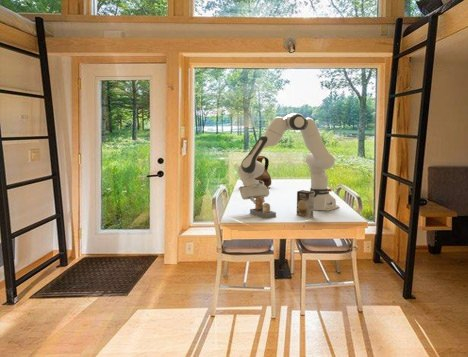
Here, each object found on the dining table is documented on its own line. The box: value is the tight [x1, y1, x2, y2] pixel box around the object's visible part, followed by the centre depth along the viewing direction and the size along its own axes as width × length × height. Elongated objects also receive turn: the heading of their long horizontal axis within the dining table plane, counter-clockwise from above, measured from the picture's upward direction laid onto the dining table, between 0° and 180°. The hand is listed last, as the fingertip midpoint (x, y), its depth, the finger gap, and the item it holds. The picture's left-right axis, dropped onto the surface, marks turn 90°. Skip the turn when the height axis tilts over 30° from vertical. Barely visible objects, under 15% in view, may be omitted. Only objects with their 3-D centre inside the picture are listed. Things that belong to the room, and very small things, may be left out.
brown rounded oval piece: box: [254, 197, 264, 210], centre depth 232 cm, size 5×5×8 cm
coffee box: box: [296, 189, 314, 218], centre depth 228 cm, size 9×6×16 cm
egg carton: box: [249, 208, 277, 219], centre depth 230 cm, size 8×16×4 cm, turn 32°
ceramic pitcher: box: [255, 155, 272, 188], centre depth 335 cm, size 20×20×30 cm
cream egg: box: [263, 202, 271, 214], centre depth 226 cm, size 5×5×8 cm
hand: (259, 202), depth 232 cm, fingers closed on brown rounded oval piece, 5 cm apart
